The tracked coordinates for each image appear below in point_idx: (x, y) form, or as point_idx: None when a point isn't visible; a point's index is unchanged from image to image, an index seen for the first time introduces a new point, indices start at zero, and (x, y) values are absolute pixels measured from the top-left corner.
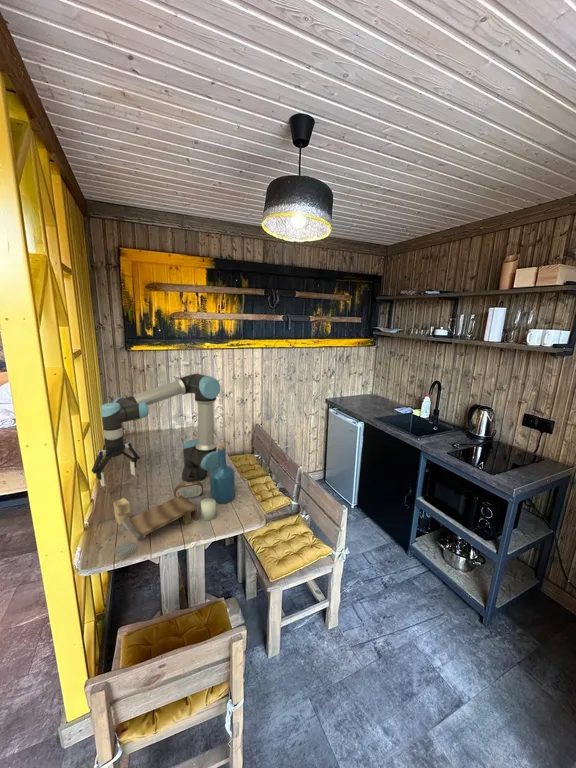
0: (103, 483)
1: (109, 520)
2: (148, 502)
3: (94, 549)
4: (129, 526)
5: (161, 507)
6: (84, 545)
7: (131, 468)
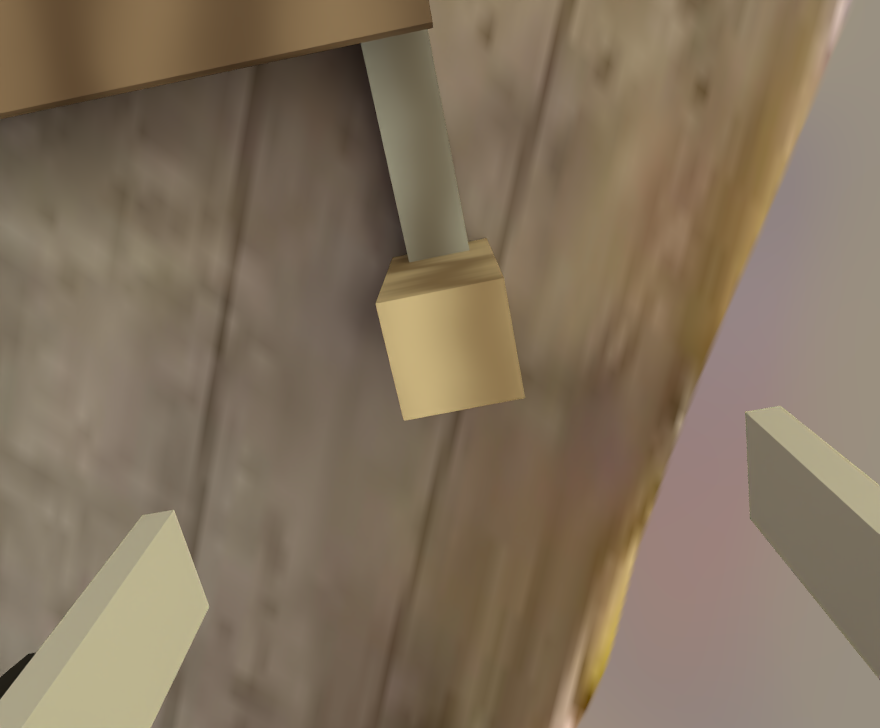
0: (796, 434)
1: (541, 366)
2: (205, 439)
3: (743, 8)
4: (432, 83)
5: (49, 22)
6: (789, 128)
7: (144, 672)
